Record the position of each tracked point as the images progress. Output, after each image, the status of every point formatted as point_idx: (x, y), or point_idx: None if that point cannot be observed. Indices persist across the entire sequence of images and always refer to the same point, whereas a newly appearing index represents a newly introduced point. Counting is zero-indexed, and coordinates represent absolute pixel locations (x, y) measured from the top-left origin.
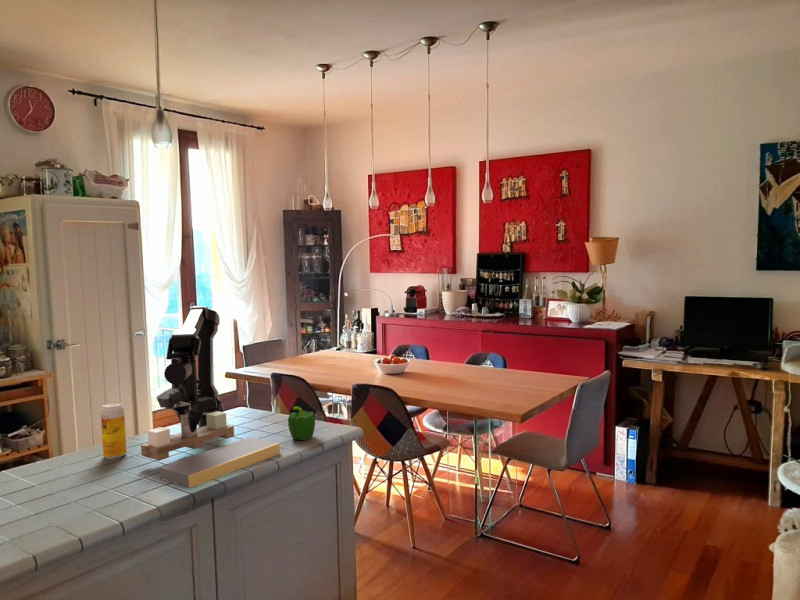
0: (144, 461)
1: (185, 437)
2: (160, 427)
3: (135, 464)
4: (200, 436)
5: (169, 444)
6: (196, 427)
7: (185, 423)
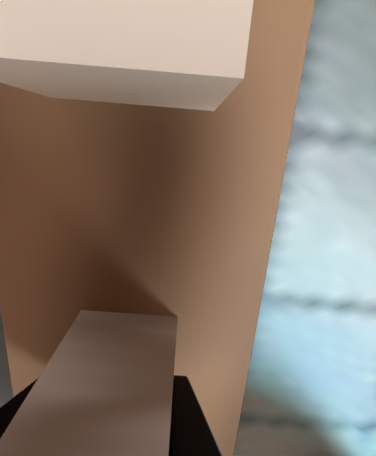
0: (342, 92)
1: (99, 297)
2: (209, 33)
3: (356, 19)
4: (9, 363)
5: None
6: None
7: (53, 437)
